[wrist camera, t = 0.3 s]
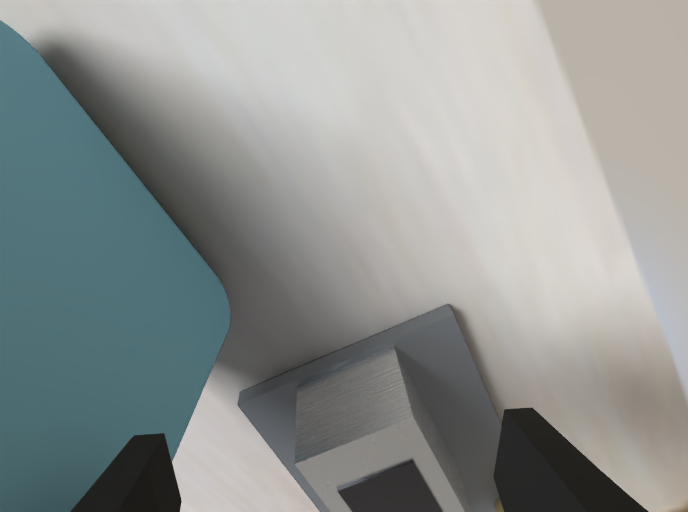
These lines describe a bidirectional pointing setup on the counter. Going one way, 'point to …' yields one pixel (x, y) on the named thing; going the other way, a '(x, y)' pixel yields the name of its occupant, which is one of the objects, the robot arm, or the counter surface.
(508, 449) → the robot arm
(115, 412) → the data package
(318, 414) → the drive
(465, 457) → the flat grey base plate
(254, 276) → the counter surface
